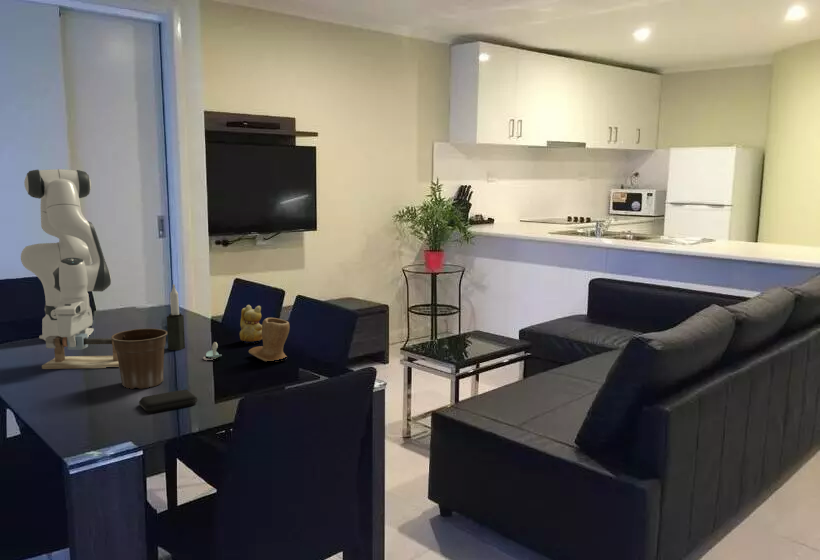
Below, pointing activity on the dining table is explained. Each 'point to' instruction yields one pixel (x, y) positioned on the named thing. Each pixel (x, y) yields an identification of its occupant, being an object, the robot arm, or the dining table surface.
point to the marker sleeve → (78, 342)
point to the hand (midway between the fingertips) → (77, 344)
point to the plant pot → (140, 357)
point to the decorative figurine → (251, 324)
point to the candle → (175, 324)
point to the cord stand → (78, 361)
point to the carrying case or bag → (168, 401)
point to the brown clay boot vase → (272, 340)
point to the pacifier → (212, 352)
